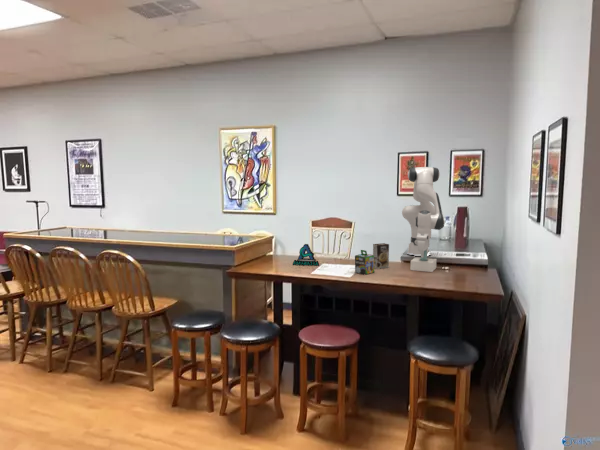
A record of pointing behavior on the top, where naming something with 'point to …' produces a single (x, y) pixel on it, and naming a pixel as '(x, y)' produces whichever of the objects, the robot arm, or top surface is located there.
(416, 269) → the hole block
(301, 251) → the decorative sign
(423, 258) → the pin
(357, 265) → the chalk box
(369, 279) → the top surface
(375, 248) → the coffee box
